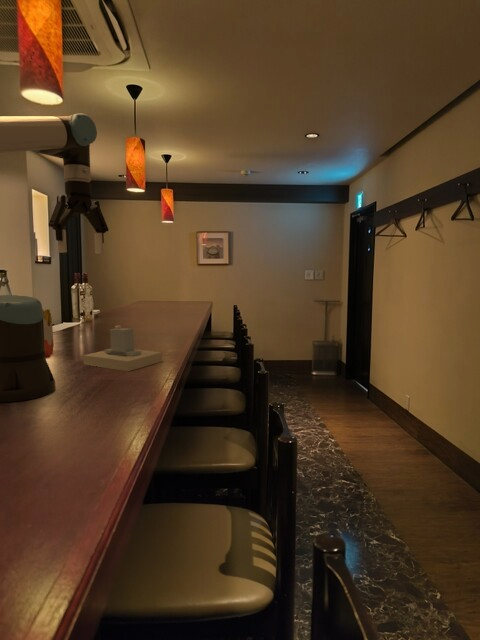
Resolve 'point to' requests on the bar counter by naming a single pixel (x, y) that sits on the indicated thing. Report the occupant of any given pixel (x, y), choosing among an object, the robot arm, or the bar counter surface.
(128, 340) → the servo
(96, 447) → the bar counter surface
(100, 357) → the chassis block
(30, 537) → the bar counter surface
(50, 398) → the bar counter surface
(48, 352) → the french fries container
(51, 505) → the bar counter surface
